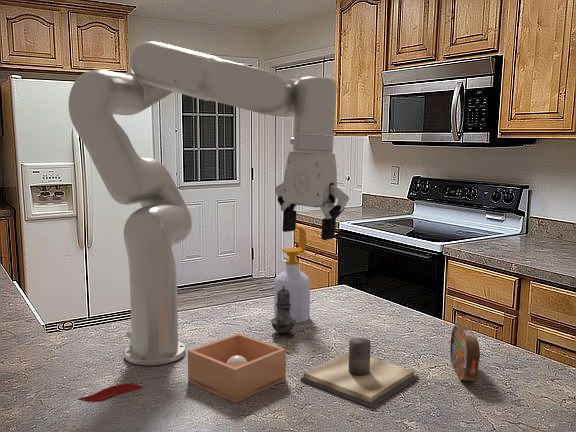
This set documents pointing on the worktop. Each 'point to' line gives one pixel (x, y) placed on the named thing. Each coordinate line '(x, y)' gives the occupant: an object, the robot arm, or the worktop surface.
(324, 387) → the mat
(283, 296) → the salt shaker
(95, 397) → the cayenne pepper
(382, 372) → the lid
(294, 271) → the soap bottle
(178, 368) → the worktop surface
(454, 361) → the tin
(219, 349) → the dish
